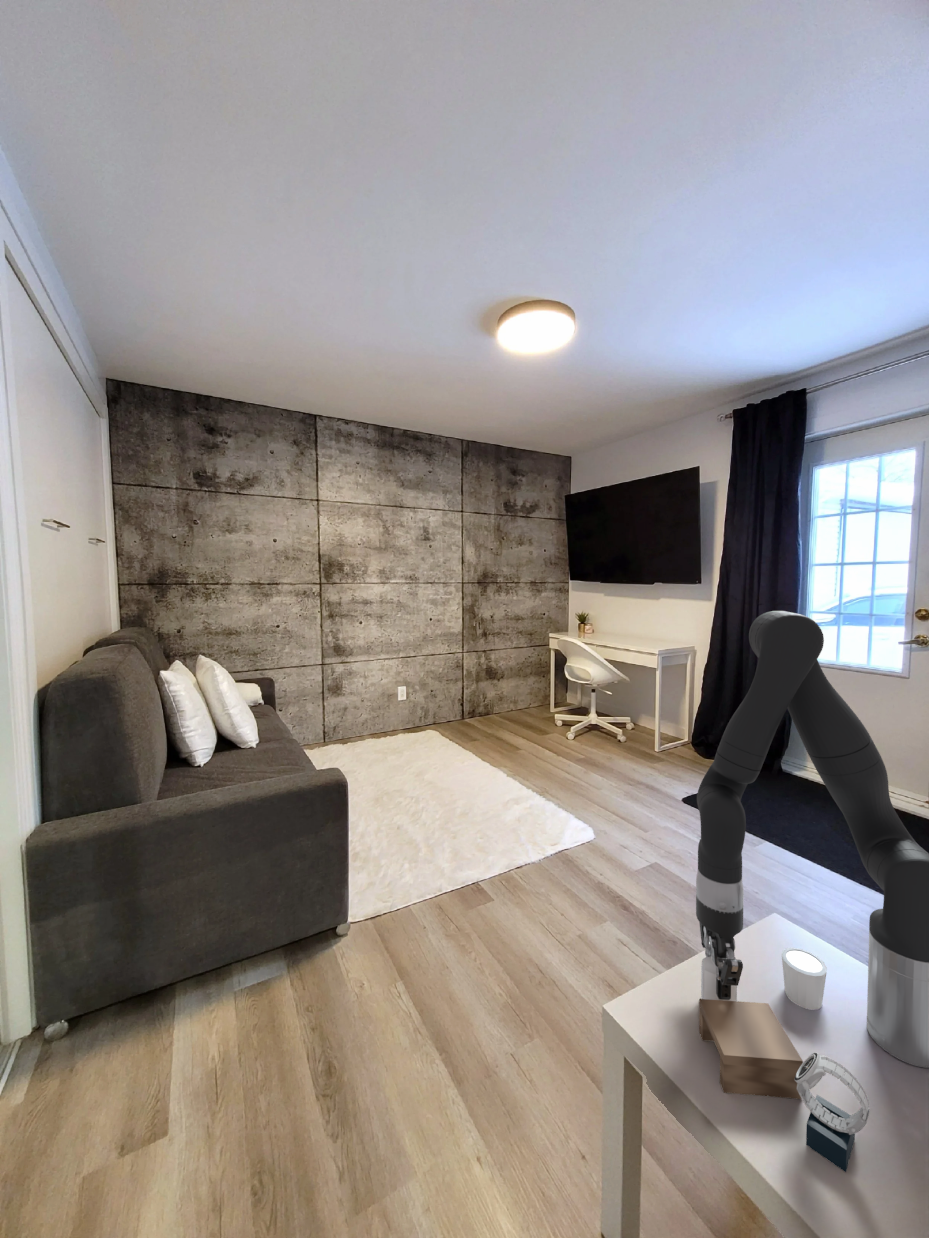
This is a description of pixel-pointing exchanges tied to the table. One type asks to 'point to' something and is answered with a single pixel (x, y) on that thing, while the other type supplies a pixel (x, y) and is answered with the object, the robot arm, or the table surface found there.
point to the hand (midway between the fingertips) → (718, 987)
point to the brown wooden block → (750, 1048)
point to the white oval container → (804, 978)
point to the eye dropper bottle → (712, 981)
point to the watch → (830, 1111)
